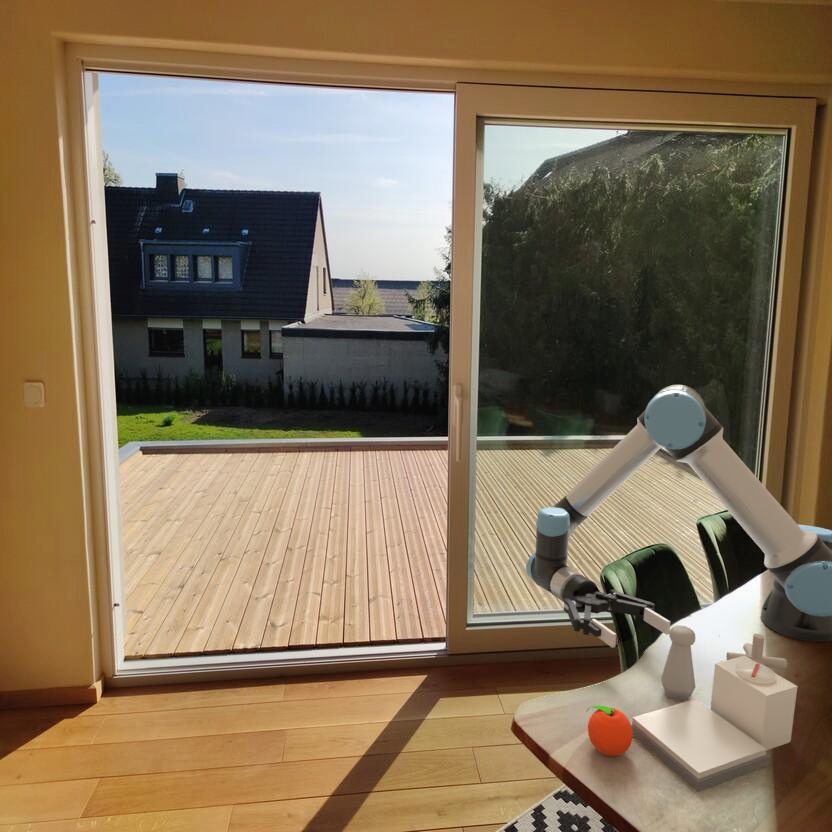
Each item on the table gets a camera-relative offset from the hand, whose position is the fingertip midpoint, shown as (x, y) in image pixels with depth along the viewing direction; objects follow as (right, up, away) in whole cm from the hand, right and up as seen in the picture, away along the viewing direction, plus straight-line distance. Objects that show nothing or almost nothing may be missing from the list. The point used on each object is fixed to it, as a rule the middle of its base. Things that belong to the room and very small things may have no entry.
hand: (642, 634), depth 125 cm
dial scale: (+5, -11, -20) cm, 23 cm away
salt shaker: (+4, -9, -8) cm, 12 cm away
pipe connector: (+20, -8, -4) cm, 22 cm away
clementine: (-14, -11, -23) cm, 29 cm away
